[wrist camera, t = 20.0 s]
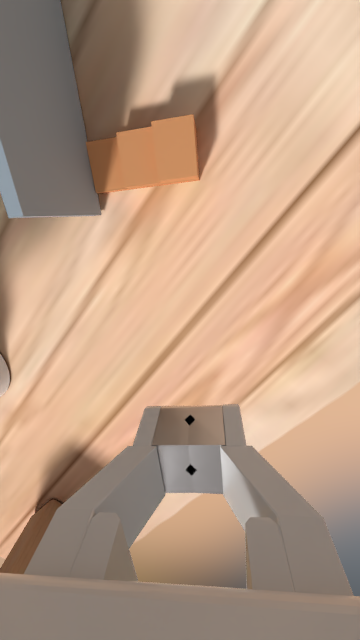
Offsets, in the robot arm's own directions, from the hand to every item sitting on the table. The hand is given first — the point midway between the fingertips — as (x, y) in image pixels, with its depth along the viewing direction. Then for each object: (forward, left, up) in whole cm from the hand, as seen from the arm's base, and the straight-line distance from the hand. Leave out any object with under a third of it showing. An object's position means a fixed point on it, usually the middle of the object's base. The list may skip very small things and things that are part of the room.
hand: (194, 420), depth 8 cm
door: (-13, +18, -26) cm, 34 cm away
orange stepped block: (-7, +12, -27) cm, 30 cm away
